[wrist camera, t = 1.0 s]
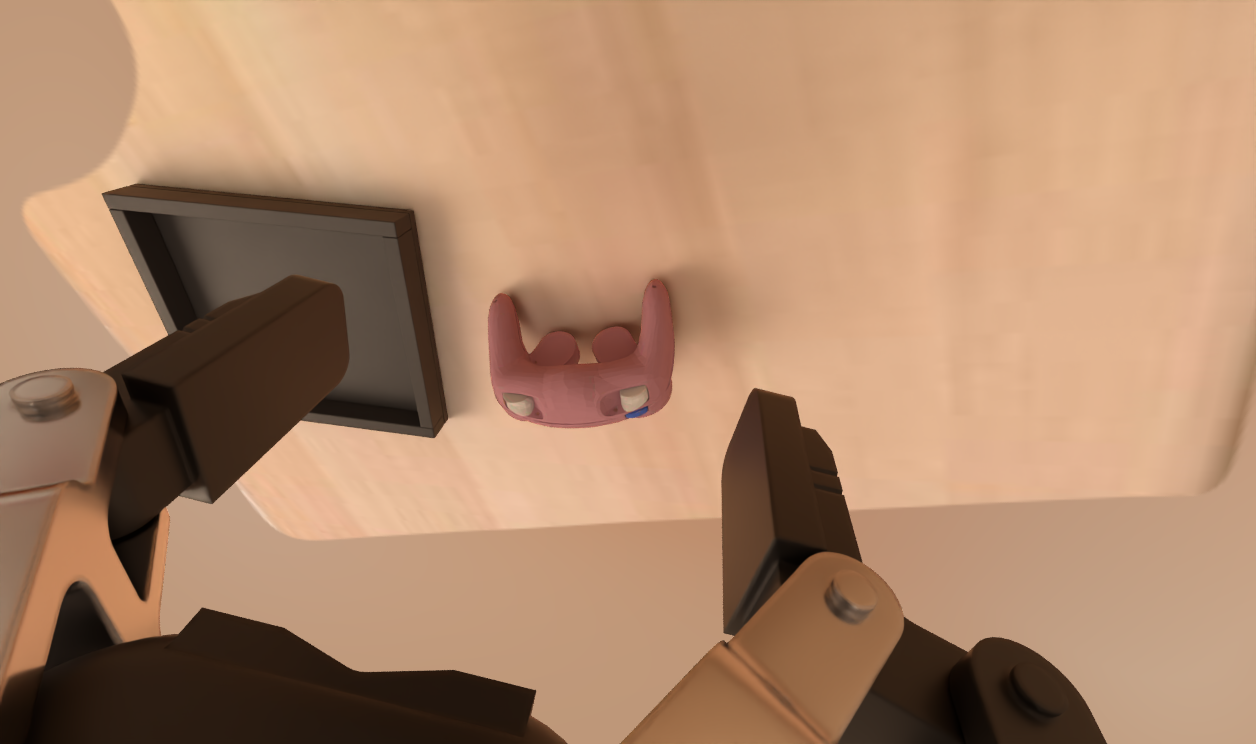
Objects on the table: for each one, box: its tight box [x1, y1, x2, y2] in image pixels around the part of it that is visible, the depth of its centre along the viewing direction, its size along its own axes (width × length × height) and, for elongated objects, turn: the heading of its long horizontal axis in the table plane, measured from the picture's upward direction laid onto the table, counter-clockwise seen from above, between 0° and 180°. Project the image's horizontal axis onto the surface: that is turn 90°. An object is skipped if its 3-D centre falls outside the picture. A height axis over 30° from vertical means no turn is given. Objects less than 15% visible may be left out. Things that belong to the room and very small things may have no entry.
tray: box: [102, 184, 448, 438], centre depth 31 cm, size 14×16×2 cm
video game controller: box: [488, 279, 675, 428], centre depth 28 cm, size 10×5×7 cm, turn 99°
